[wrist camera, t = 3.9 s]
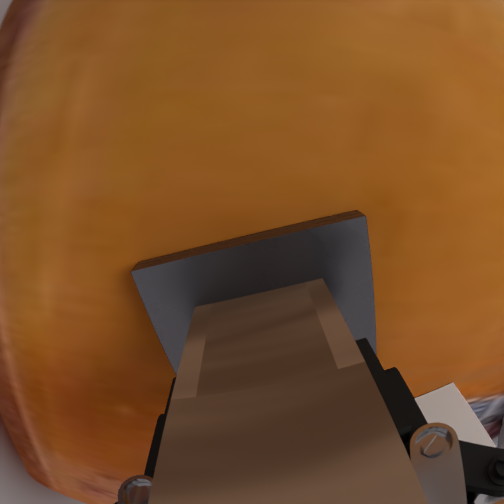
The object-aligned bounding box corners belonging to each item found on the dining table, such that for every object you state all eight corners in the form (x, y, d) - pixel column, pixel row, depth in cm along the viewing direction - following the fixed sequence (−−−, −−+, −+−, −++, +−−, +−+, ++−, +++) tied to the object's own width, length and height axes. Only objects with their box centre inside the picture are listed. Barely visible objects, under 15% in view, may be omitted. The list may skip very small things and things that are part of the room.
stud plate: (138, 262, 13) (82, 335, 7) (357, 210, 12) (426, 259, 7) (205, 412, 16) (195, 495, 10) (370, 377, 15) (405, 455, 10)
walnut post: (194, 306, 12) (129, 618, 2) (322, 278, 12) (457, 585, 2) (229, 395, 14) (223, 627, 3) (335, 373, 14) (405, 601, 3)
